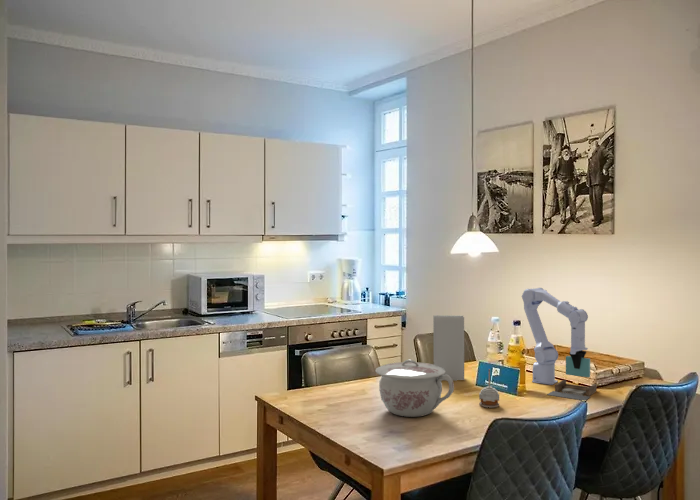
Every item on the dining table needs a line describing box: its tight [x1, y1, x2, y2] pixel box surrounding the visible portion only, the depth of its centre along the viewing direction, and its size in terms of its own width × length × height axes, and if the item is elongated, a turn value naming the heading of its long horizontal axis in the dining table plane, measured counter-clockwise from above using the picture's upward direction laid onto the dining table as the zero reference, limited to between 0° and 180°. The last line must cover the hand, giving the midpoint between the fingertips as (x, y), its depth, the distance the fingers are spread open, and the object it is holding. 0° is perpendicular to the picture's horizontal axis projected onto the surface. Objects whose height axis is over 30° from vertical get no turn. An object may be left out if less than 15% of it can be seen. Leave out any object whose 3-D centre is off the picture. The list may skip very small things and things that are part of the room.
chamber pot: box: [375, 359, 455, 418], centre depth 244 cm, size 28×28×21 cm
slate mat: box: [546, 390, 591, 401], centre depth 265 cm, size 16×7×1 cm, turn 53°
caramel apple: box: [478, 368, 500, 409], centre depth 252 cm, size 8×8×15 cm
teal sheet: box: [565, 355, 591, 378], centre depth 275 cm, size 10×2×8 cm, turn 53°
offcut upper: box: [561, 388, 586, 396], centre depth 271 cm, size 9×5×1 cm, turn 49°
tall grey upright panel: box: [432, 315, 465, 381], centre depth 297 cm, size 14×6×30 cm, turn 84°
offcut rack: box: [554, 379, 598, 397], centre depth 273 cm, size 14×11×3 cm
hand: (577, 367), depth 275 cm, fingers closed on teal sheet, 2 cm apart
